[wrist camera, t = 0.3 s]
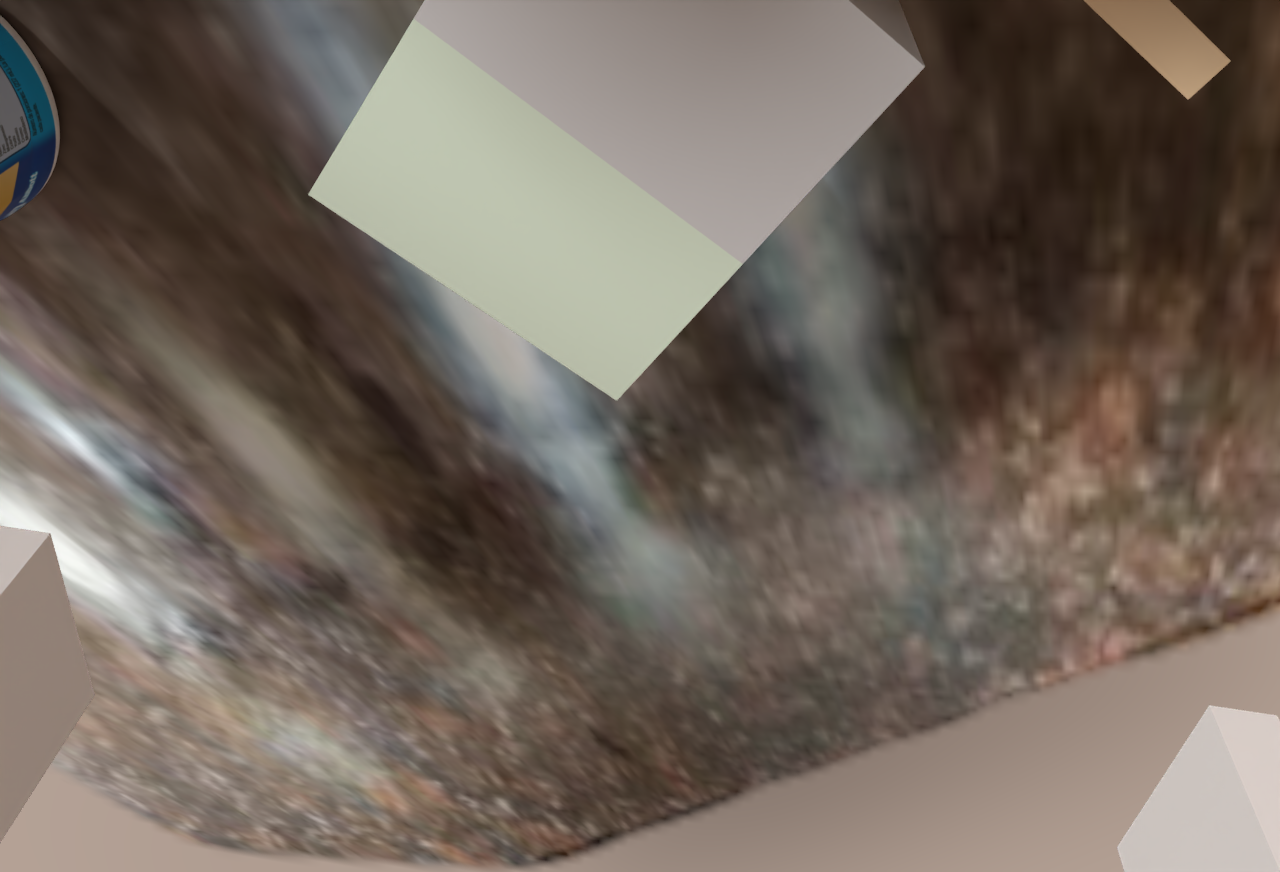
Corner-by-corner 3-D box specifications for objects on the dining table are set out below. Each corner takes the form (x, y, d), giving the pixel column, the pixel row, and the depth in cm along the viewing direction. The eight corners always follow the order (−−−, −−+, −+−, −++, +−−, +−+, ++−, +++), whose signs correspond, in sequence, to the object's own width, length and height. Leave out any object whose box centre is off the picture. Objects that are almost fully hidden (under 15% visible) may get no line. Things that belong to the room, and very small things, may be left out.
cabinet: (426, 59, 33) (286, 230, 23) (638, -280, 27) (569, -242, 18) (637, 214, 35) (590, 429, 26) (871, -69, 30) (925, 66, 20)
